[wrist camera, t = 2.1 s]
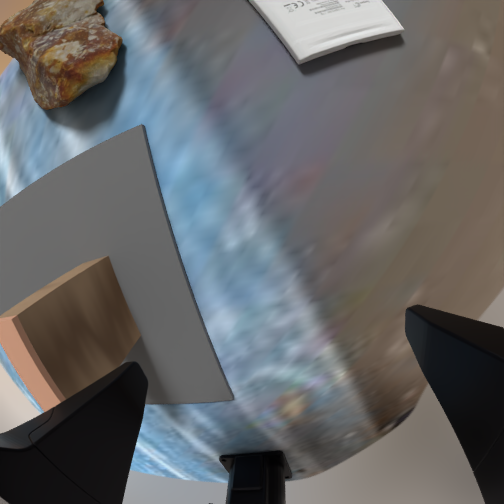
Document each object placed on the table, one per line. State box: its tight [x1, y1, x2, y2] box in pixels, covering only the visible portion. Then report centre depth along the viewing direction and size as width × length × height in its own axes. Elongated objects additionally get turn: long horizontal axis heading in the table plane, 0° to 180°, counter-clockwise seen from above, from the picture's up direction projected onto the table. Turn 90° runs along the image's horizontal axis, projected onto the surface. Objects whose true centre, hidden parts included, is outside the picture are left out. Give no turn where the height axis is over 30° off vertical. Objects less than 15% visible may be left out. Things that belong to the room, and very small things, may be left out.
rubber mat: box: [0, 124, 234, 404], centre depth 18 cm, size 20×25×1 cm
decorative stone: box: [0, 0, 122, 110], centre depth 10 cm, size 10×4×15 cm
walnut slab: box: [0, 256, 141, 412], centre depth 13 cm, size 6×2×9 cm, turn 14°
